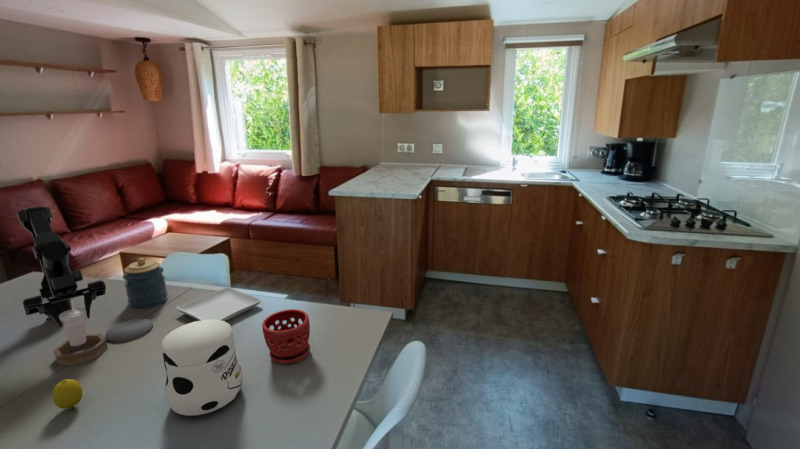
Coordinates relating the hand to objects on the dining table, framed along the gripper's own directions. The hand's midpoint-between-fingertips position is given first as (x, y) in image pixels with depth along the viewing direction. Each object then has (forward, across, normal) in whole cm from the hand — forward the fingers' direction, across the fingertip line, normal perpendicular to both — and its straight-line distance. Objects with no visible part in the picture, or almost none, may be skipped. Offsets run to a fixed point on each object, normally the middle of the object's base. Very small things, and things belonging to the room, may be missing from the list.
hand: (75, 322), depth 116 cm
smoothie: (+4, 0, +6) cm, 8 cm away
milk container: (+40, +18, -25) cm, 51 cm away
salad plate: (+10, +40, +6) cm, 42 cm away
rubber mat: (+4, +13, +12) cm, 18 cm away
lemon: (+26, -7, -10) cm, 28 cm away
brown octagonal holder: (+7, 0, +9) cm, 11 cm away
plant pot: (+40, +42, -24) cm, 62 cm away
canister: (-9, +24, +26) cm, 37 cm away
